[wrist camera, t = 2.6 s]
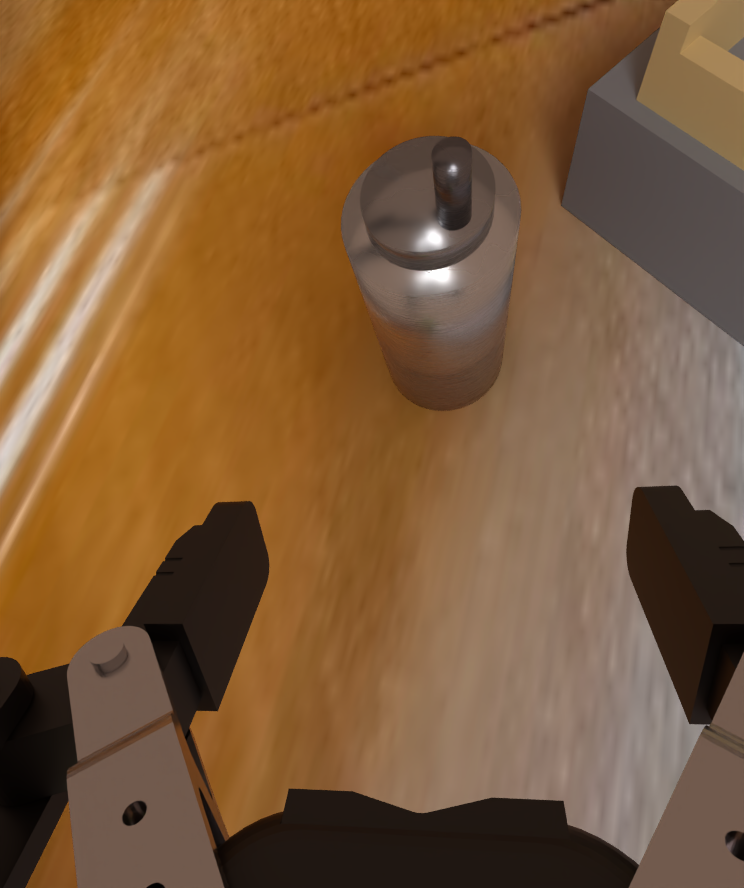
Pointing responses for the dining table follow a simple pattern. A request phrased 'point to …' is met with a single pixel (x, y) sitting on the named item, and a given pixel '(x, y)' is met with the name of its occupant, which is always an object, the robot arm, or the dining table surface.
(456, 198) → the oil can
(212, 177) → the dining table surface
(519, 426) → the dining table surface
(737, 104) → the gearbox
